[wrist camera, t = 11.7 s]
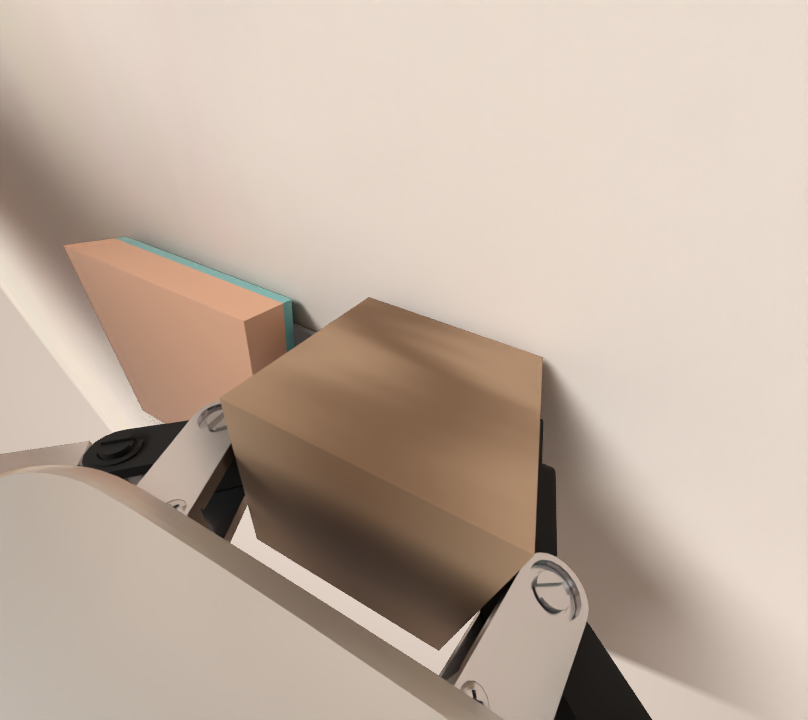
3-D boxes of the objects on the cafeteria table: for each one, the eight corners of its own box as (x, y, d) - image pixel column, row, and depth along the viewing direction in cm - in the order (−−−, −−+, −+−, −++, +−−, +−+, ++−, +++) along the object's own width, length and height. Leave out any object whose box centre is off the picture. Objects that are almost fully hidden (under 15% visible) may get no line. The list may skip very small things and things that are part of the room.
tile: (126, 236, 15) (180, 388, 20) (62, 245, 13) (142, 410, 18) (291, 299, 12) (300, 451, 18) (243, 321, 10) (270, 483, 16)
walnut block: (356, 415, 14) (256, 538, 9) (368, 297, 10) (218, 398, 6) (480, 471, 13) (438, 650, 8) (542, 357, 9) (534, 554, 4)
